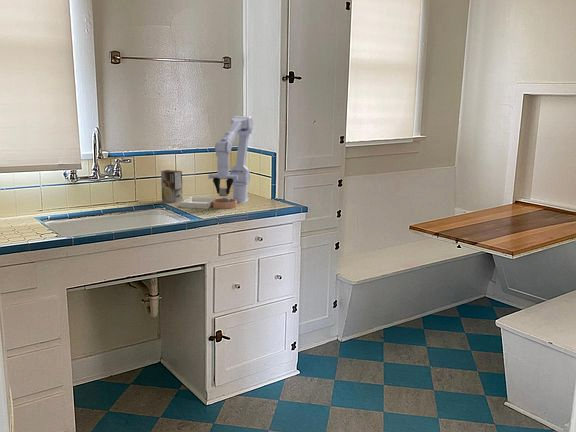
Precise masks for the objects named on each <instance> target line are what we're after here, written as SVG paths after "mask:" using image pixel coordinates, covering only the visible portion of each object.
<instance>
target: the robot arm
mask: <svg viewBox="0 0 576 432" xmlns="http://www.w3.org/2000/svg"><path fill="white" fill-rule="evenodd" d="M230 122H231V126H230V128H229V130H228V131H225V132H224V134H223V136H222V137H221V139H220V140H219V141H217V142H216V143H215V144H214V145H215V146H214V151H215V155H216V157H217V158H216V159H217V160H216V161H217V162H216V163H217V164H216V165H217V170H216V171H217V173H215V174H214V173H209V174H208V175H207V176H208V179H212V182H213V184H214V186H215V189H216V194H218V195H219V188H221V187H220V186H221V180H226V181H225V182H226V188H227V194H228V195H230V192H231V188H232V199H236V200H237V203H245V204H246V203H247V202H248V201H249V200H250V199H249V198H248V186H247V185H249V183H250V181H251V171H250V169H249V168H248V167H247V166H246V165H247V164H246V163H247V154H248V147H249V146H248V145H249V140H250V139H249V137H250V135H251V134H253V127H254V121H253V117H251V116H250V115H249V116H248V115H247V116H246V115H245V116H243V115H242V116H241V115H233V116H232V118H231V121H230ZM237 134H238V144H237V153H236V159H235V165H234V166H232V167H231V169H230V153H231V152H232V148H233V144H234V142H235V140H236V135H237Z"/></svg>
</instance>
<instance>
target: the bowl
mask: <svg viewBox="0 0 576 432" xmlns="http://www.w3.org/2000/svg"><path fill="white" fill-rule="evenodd" d="M222 198H223V197H221V198H219V197H218V199H214V200H212V206H211V207H212V208H213V209H214V208H215V209H221V210H223V209H224V210H225V209H226V210H228V209H230V210H231V209H235V208H237V207H238V202H237V200H236V199H233V198H230V202H226V203H223V202H222Z"/></svg>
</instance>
